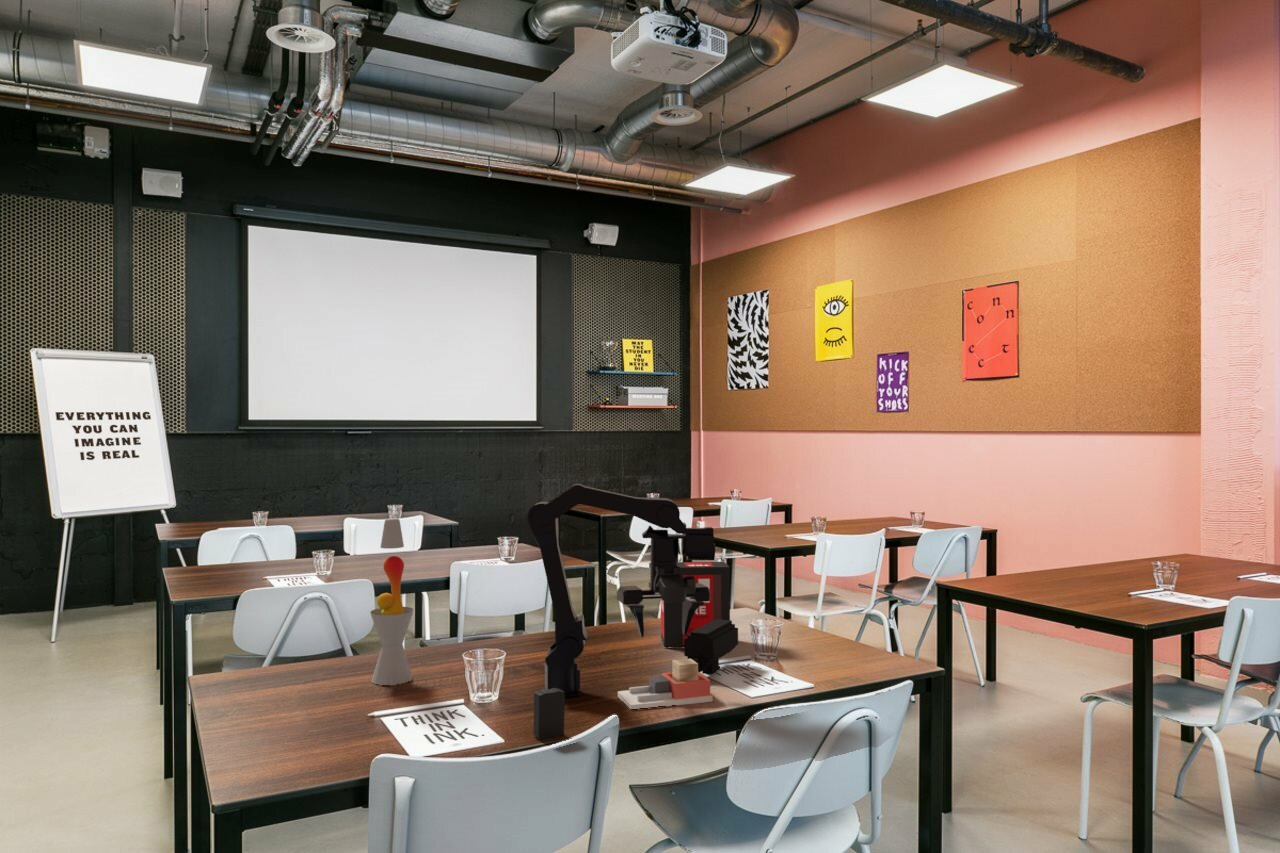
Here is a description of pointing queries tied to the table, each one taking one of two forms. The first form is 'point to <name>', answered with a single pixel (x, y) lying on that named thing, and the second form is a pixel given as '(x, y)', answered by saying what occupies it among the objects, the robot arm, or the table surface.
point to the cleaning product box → (717, 608)
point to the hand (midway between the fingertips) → (663, 635)
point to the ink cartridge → (549, 713)
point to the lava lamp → (392, 615)
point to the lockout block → (684, 670)
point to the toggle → (659, 684)
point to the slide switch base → (669, 694)
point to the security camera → (711, 644)
